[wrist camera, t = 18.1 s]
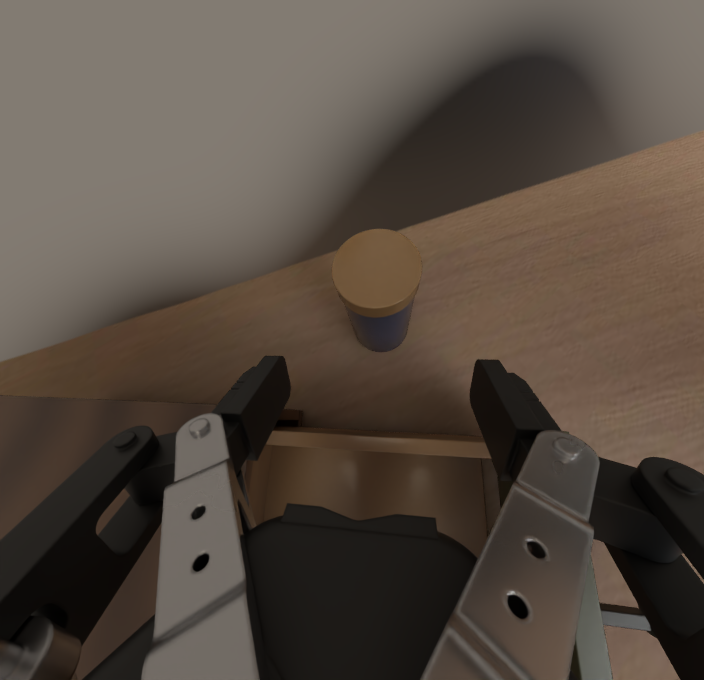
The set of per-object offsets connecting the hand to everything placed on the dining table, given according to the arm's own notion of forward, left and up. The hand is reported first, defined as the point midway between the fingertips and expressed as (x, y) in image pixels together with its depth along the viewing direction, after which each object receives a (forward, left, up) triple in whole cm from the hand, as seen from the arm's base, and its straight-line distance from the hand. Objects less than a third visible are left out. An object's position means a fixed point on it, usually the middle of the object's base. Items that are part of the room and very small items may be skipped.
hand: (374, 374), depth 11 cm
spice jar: (0, -6, -12) cm, 13 cm away
